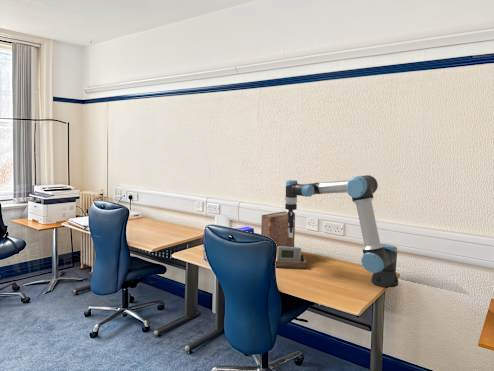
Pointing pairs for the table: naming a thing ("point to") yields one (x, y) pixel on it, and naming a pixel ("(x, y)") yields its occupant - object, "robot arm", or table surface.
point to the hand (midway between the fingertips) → (290, 234)
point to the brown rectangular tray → (292, 263)
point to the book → (278, 228)
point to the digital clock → (288, 254)
